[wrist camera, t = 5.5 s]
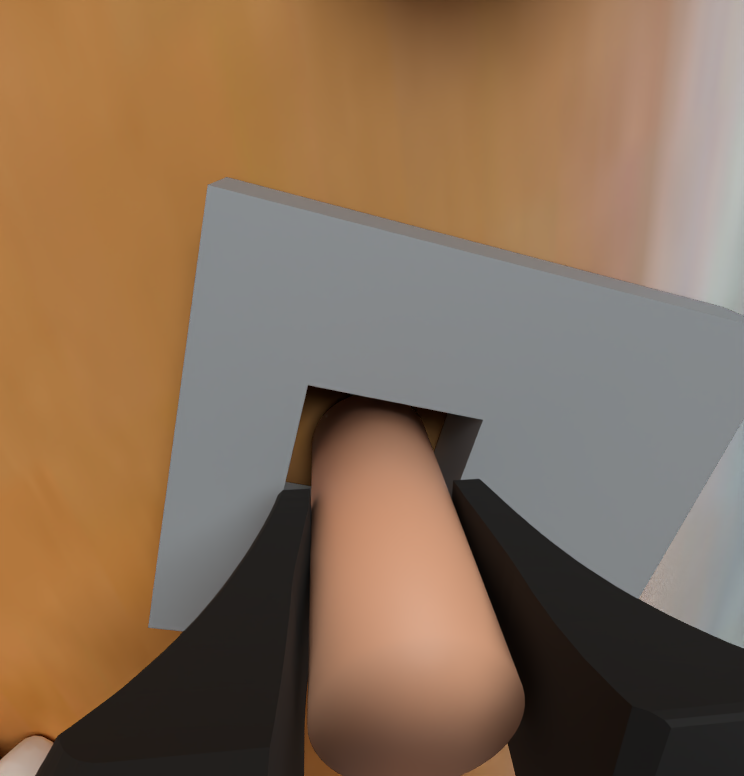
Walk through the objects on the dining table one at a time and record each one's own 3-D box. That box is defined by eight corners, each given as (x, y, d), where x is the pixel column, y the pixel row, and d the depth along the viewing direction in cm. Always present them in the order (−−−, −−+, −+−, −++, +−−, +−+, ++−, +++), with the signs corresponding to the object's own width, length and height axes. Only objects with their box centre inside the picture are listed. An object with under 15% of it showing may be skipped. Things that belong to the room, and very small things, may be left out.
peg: (424, 387, 15) (530, 625, 7) (428, 487, 16) (519, 771, 9) (305, 399, 15) (294, 655, 7) (318, 498, 16) (320, 800, 9)
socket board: (723, 307, 16) (792, 335, 13) (562, 615, 20) (593, 676, 18) (226, 177, 13) (207, 184, 11) (170, 564, 18) (148, 627, 15)
